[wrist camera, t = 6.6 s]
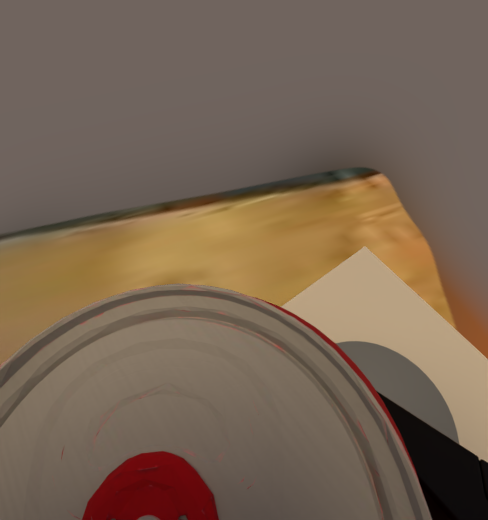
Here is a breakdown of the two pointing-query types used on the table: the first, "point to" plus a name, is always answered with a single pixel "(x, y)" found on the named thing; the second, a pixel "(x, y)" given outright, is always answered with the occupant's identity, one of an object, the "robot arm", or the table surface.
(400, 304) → the base plate
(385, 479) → the beverage can
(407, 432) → the robot arm
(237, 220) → the table surface
